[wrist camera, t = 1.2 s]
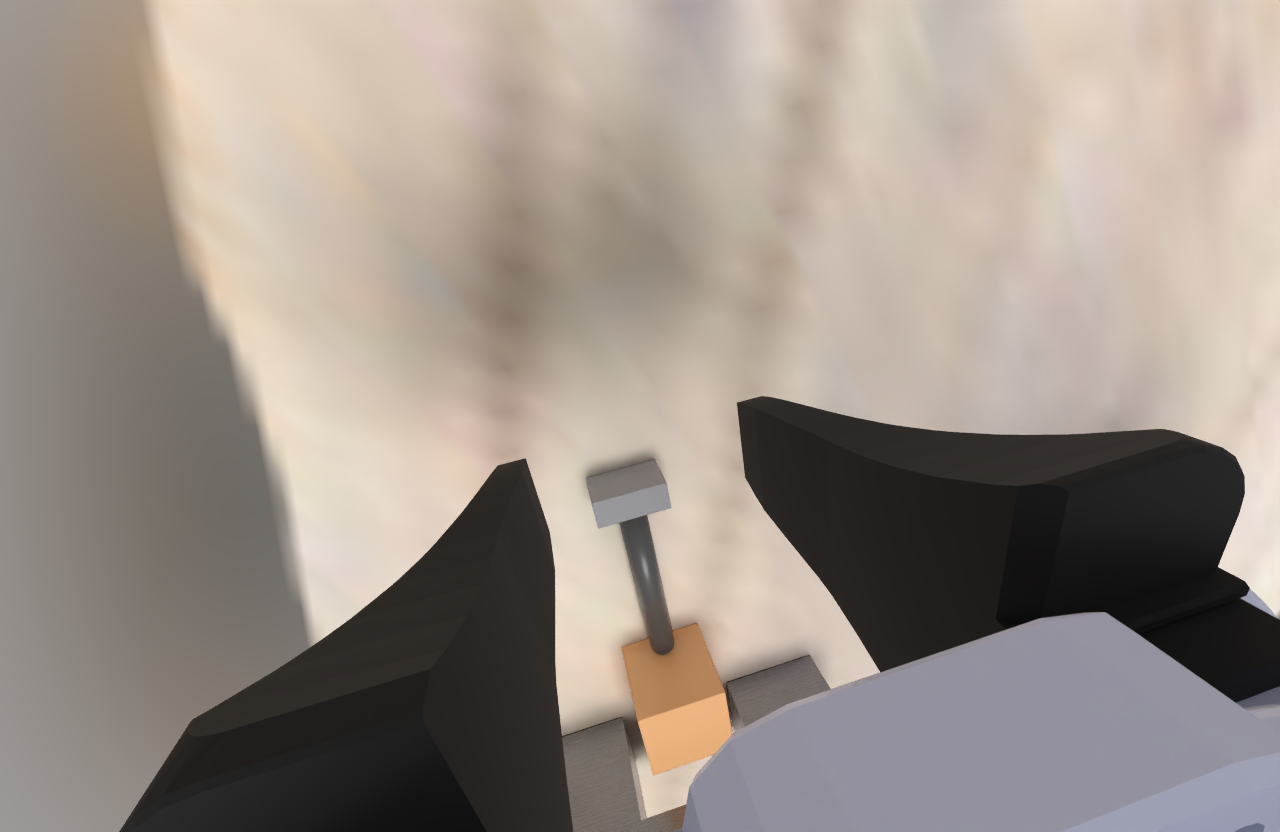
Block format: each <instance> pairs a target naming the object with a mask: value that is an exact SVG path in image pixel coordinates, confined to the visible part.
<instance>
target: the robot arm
mask: <svg viewBox="0 0 1280 832" xmlns="http://www.w3.org/2000/svg"><path fill="white" fill-rule="evenodd" d="M737 407H738V416H739V425H740V434H741V444H742V453H743V462H744V471H745V478H746V480H747V481H748V483H749V485H750V487H751V488H752V490H753V492H754V494H755V495H756V497H757V499H758V500H759V502H760V504H761V505H762V507H763V509H764V510H765V511H766V513H767V514H768V515H769V517H770V518H771V519H772V520H773V522H774V523H775V524H776V525H777V527H778V528H779V529H780V530H781V532H782V533H783V534H784V535H785V537H786V538H787V539H788V540H789V541H790V543H791V544H792V545H793V546H794V548H795V549H796V550H797V551H798V553H799V554H800V555H801V556H802V557H803V559H804V560H805V561H806V562H807V564H808V565H809V566H810V567H811V569H812V570H813V571H814V572H815V573H816V575H817V576H818V577H819V578H820V580H821V581H822V582H823V584H824V585H825V586H826V588H827V589H828V591H829V592H830V593H831V595H832V596H833V598H834V599H835V601H836V602H837V604H838V605H839V607H840V608H841V610H842V612H843V613H844V615H845V616H846V618H847V619H848V621H849V622H850V624H851V625H852V627H853V629H854V630H855V632H856V633H857V635H858V636H859V638H860V640H861V641H862V643H863V645H864V646H865V648H866V649H867V651H868V653H869V654H870V656H871V658H872V659H873V661H874V663H875V664H876V666H877V667H878V669H879V671H880V672H881V673H878V674H875V675H872V676H869V677H866V678H863V679H860V680H857V681H854V682H851V683H848V684H845V685H842V686H839V687H836V688H833V689H831V690H828V691H825V692H822V693H819V694H816V695H813V696H810V697H807V698H804V699H801V700H798V701H795V702H792V703H789V704H787V705H785V706H783V707H781V708H779V709H777V710H776V711H774V712H772V713H770V714H768V715H766V716H764V717H762V718H761V719H759V720H757V721H755V722H753V723H751V724H749V725H747V726H746V727H744V728H742V729H740V730H738V731H736V732H734V733H733V734H732V735H731V736H730V737H729V738H728V739H727V740H726V742H725V743H724V744H723V745H722V746H721V747H720V748H719V749H718V751H717V752H716V753H715V754H714V755H713V756H712V757H711V758H710V760H709V761H708V762H707V763H706V764H705V765H704V766H703V767H702V769H701V770H700V771H699V772H698V773H697V775H696V776H695V778H694V780H693V782H692V784H691V785H690V787H689V793H688V798H687V804H686V810H685V816H684V822H683V827H682V831H683V832H1280V620H1279V619H1277V617H1276V616H1275V614H1274V613H1273V612H1272V611H1271V609H1270V608H1269V607H1268V606H1267V605H1266V604H1265V603H1264V602H1263V601H1262V600H1261V599H1260V598H1259V597H1258V596H1257V595H1256V594H1255V593H1254V592H1253V591H1252V590H1250V588H1249V586H1248V585H1247V584H1246V582H1245V581H1243V580H1241V579H1240V578H1238V577H1236V576H1234V575H1232V574H1230V573H1228V572H1226V571H1224V570H1222V569H1220V568H1219V567H1218V565H1219V562H1220V560H1221V557H1222V555H1223V552H1224V550H1225V547H1226V545H1227V542H1228V540H1229V537H1230V535H1231V532H1232V530H1233V527H1234V525H1235V523H1236V520H1237V518H1238V515H1239V512H1240V509H1241V505H1242V502H1243V498H1244V495H1245V483H1244V474H1243V472H1242V469H1241V467H1240V465H1239V463H1238V461H1237V459H1236V457H1235V456H1234V455H1232V454H1231V453H1229V452H1228V451H1227V450H1225V449H1224V448H1222V447H1219V446H1216V445H1213V444H1210V443H1208V442H1205V441H1202V440H1199V439H1196V438H1193V437H1190V436H1187V435H1185V434H1182V433H1179V432H1175V431H1171V430H1165V429H1153V430H1137V431H1121V432H1105V433H1090V434H1069V435H996V434H977V433H959V432H946V431H935V430H927V429H919V428H911V427H903V426H896V425H890V424H884V423H879V422H874V421H869V420H864V419H859V418H854V417H850V416H845V415H841V414H837V413H833V412H829V411H825V410H821V409H817V408H813V407H809V406H805V405H801V404H797V403H794V402H790V401H786V400H781V399H777V398H772V397H764V396H761V397H757V398H753V399H749V400H746V401H742V402H738V403H737ZM120 832H573V824H572V816H571V808H570V801H569V793H568V785H567V776H566V768H565V759H564V751H563V742H562V734H561V724H560V715H559V706H558V696H557V687H556V669H555V567H554V560H553V552H552V545H551V538H550V532H549V529H548V526H547V523H546V520H545V516H544V513H543V510H542V507H541V504H540V501H539V498H538V495H537V492H536V489H535V486H534V483H533V480H532V477H531V474H530V471H529V468H528V464H527V461H526V458H525V459H521V460H517V461H513V462H510V463H506V464H502V465H498V466H497V467H496V468H495V470H494V471H493V472H492V473H491V475H490V476H489V477H488V479H487V480H486V482H485V483H484V484H483V486H482V487H481V488H480V490H479V491H478V492H477V494H476V495H475V496H474V498H473V499H472V500H471V501H470V503H469V504H468V505H467V507H466V508H465V509H464V511H463V512H462V513H461V514H460V516H459V517H458V518H457V519H456V520H455V521H454V522H453V524H452V525H451V526H450V527H449V528H448V529H447V531H446V532H445V533H444V534H443V535H442V536H441V538H440V539H439V540H438V541H437V542H436V543H435V544H434V545H433V546H432V548H431V549H430V550H429V551H428V552H427V553H426V554H425V555H424V556H423V557H422V558H421V559H420V560H419V561H418V562H417V563H416V564H415V565H414V566H412V567H411V568H410V569H409V570H408V571H407V572H406V573H405V574H404V575H403V576H402V577H401V578H400V579H399V580H397V581H396V582H395V583H394V584H393V585H392V586H390V587H389V588H388V589H387V590H386V591H384V592H383V593H382V594H381V595H379V596H378V597H377V598H376V599H374V600H373V601H372V602H371V603H370V604H368V605H367V606H366V607H365V608H363V609H362V610H361V611H360V612H358V613H357V614H356V615H355V616H353V617H352V618H351V619H350V620H348V621H347V622H346V623H344V624H343V625H341V626H340V627H339V628H337V629H336V630H335V631H333V632H332V633H330V634H329V635H328V636H326V637H325V638H323V639H322V640H321V641H319V642H318V643H316V644H315V645H313V646H312V647H310V648H309V649H307V650H306V651H304V652H303V653H301V654H300V655H298V656H297V657H296V658H294V659H292V660H291V661H289V662H288V663H286V664H285V665H283V666H282V667H280V668H279V669H277V670H275V671H274V672H272V673H270V674H269V675H267V676H265V677H264V678H262V679H261V680H259V681H257V682H255V683H254V684H252V685H250V686H249V687H247V688H246V689H244V690H242V691H241V692H239V693H237V694H236V695H234V696H232V697H231V698H229V699H227V700H225V701H224V702H222V703H220V704H219V705H217V706H215V707H214V708H212V709H210V710H209V711H207V712H205V713H203V714H201V715H200V716H198V717H196V718H194V719H193V720H192V721H191V722H190V724H189V725H188V727H187V728H186V730H185V731H184V733H183V735H182V736H181V738H180V739H179V741H178V742H177V744H176V745H175V747H174V748H173V750H172V751H171V753H170V755H169V756H168V758H167V759H166V761H165V762H164V764H163V766H162V767H161V768H160V770H159V771H158V773H157V775H156V776H155V778H154V779H153V781H152V782H151V784H150V785H149V787H148V788H147V790H146V792H145V793H144V795H143V796H142V798H141V799H140V801H139V802H138V804H137V805H136V807H135V808H134V810H133V812H132V813H131V815H130V816H129V818H128V819H127V821H126V822H125V824H124V825H123V827H122V828H121V830H120Z"/></svg>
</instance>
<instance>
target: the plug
mask: <svg viewBox="0 0 1280 832" xmlns="http://www.w3.org/2000/svg"><path fill="white" fill-rule="evenodd" d="M586 480H587V485H588V489H589V494H590V498H591V503H592V507H593V510H594V514H595V518H596V521H597V525H598V529H599V528H602V527H606V526H609V525H613V524H616V523H620V525H621V529H622V533H623V537H624V541H625V545H626V549H627V554H628V558H629V562H630V566H631V570H632V574H633V578H634V582H635V586H636V590H637V594H638V598H639V602H640V606H641V610H642V614H643V618H644V622H645V626H646V630H647V634H648V639H645V640H642V641H639V642H636V643H633V644H629V645H626V646H623V647H622V651H623V656H624V660H625V665H626V670H627V674H628V679H629V684H630V688H631V693H632V698H633V702H634V707H635V712H636V716H637V721H638V724H639V728H640V731H641V735H642V738H643V742H644V745H645V748H646V752H647V755H648V759H649V762H650V766H651V769H652V772H653V776H654V775H656V774H659V773H662V772H665V771H668V770H671V769H674V768H677V767H679V766H682V765H685V764H688V763H691V762H694V761H697V760H700V759H703V758H705V757H708V756H711V755H714V754H715V753H716V752H717V751H718V749H719V748H720V747H721V746H722V745H723V744H724V743H725V742H726V740H727V739H728V738H729V737H730V736H731V735H732V730H731V724H730V718H729V712H728V706H727V700H726V694H725V691H724V688H723V686H722V683H721V681H720V678H719V676H718V673H717V671H716V668H715V666H714V664H713V661H712V659H711V656H710V654H709V651H708V649H707V646H706V644H705V641H704V639H703V637H702V634H701V632H700V629H699V627H698V624H697V623H696V624H693V625H690V626H687V627H684V628H680V629H677V630H674V631H672V628H671V623H670V619H669V614H668V610H667V605H666V600H665V596H664V591H663V587H662V582H661V577H660V573H659V568H658V564H657V559H656V555H655V550H654V545H653V541H652V536H651V532H650V527H649V522H648V518H647V515H648V514H652V513H655V512H659V511H662V510H666V509H669V508H671V503H670V498H669V493H668V488H667V483H666V481H665V479H664V477H663V475H662V473H661V471H660V469H659V467H658V465H657V463H656V461H655V459H654V460H650V461H646V462H642V463H639V464H635V465H631V466H628V467H624V468H620V469H617V470H613V471H609V472H606V473H602V474H598V475H594V476H591V477H587V478H586Z"/></svg>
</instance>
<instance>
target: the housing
mask: <svg viewBox="0 0 1280 832" xmlns="http://www.w3.org/2000/svg"><path fill="white" fill-rule="evenodd" d="M727 689H728V695H729V702H730V708H731V714H732V720H733V726H734V730H735V732H736V731H738V730H740V729H742V728H744V727H746V726H747V725H749V724H751V723H753V722H755V721H757V720H759V719H761V718H762V717H764V716H766V715H768V714H770V713H772V712H774V711H776V710H777V709H779V708H781V707H783V706H785V705H787V704H789V703H792V702H795V701H798V700H801V699H804V698H807V697H810V696H813V695H816V694H819V693H822V692H825V691H828V690H831V689H830V687H829V686H828V684H827V682H826V681H825V679H824V678H823V676H822V675H821V673H820V671H819V670H818V668H817V667H816V665H815V663H814V662H813V660H812V659H811V657H810V655H809V656H806V657H803V658H800V659H797V660H794V661H791V662H788V663H785V664H782V665H779V666H776V667H773V668H770V669H767V670H764V671H761V672H758V673H755V674H752V675H749V676H746V677H743V678H740V679H737V680H733V681H730V682H727ZM562 742H563V751H564V759H565V768H566V776H567V785H568V793H569V801H570V808H571V816H572V824H573V832H683V831H682V827H683V822H684V816H685V810H686V805H683V806H681V807H678V808H675V809H672V810H669V811H667V812H664V813H661V814H658V815H655V816H653V817H650V818H647V816H646V811H645V806H644V801H643V796H642V790H641V785H640V780H639V775H638V770H637V765H636V760H635V757H634V754H633V751H632V747H631V744H630V741H629V738H628V735H627V731H626V728H625V725H624V722H623V718H622V717H621V718H618V719H615V720H612V721H609V722H606V723H603V724H600V725H597V726H594V727H591V728H588V729H585V730H582V731H579V732H576V733H573V734H570V735H567V736H564V737H562Z"/></svg>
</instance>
